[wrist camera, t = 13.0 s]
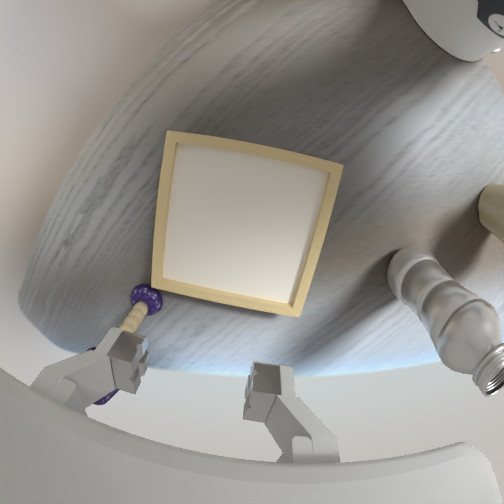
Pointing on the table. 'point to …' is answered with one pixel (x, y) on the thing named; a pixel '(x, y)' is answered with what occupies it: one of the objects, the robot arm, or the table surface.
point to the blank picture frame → (240, 221)
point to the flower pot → (492, 209)
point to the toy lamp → (137, 317)
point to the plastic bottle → (451, 317)
